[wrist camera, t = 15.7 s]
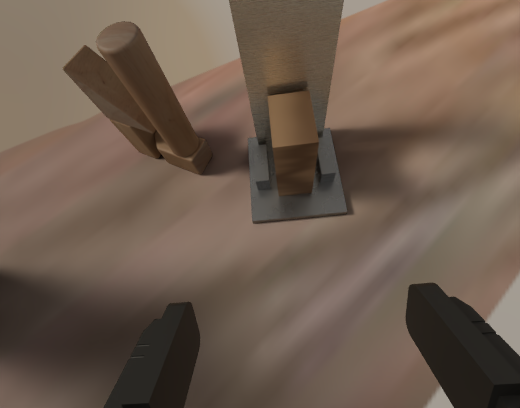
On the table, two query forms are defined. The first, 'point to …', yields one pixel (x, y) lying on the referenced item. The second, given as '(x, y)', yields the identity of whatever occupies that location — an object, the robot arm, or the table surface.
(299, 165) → the brown rectangular block
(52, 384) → the table surface
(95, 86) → the wooden rod assembly
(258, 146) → the grey stand
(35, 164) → the table surface
